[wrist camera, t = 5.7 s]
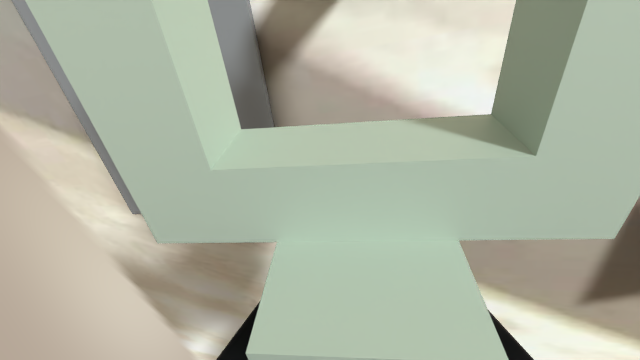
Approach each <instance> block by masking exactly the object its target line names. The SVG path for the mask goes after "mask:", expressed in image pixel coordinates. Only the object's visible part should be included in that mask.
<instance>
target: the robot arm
mask: <svg viewBox="0 0 640 360" xmlns="http://www.w3.org/2000/svg"><path fill="white" fill-rule="evenodd" d="M259 304H260V302H259V303H258V305H257V306H256V307H255V309H254V310H253V311H252V313H251V314H250V315H249V317H248V318H247V319H246V321H245V322H244V323H243V325H242V326H241V327H240V329H239V330H238V331H237V333H236V334H235V335H234V337H233V338H232V339H231V341H230V342H229V343H228V345H227V346H226V347H225V349H224V350H223V351H222V353H221V354H220V355H219V357H218V358H217V359H216V360H248V358H247V356H246V354H245V353H246V350H247V346H248V343H249V339H250V336H251V332H252V329H253V325H254V322H255V318H256V315H257V311H258V308H259ZM488 312H489V314H490V317H491V319H492V321H493V324H494V326H495V328H496V331H497V333H498V336H499V338H500V340H501V343H502V345H503V348H504V350H505V352H506V355H507V357H508V359H509V360H534V359H533V358H532V357H531V356H530V355H529V354H528V353H527V352H526V351H525V350H524V348H523V347H522V346H521V345H520V344H519V343H518V342H517V341H516V340H515V339H514V338H513V336H512V335H511V334H510V333H509V332H508V331H507V330H506V329H505V328H504V327H503V326H502V325H501V323H500V322H499V321H498V320H497V319H496V318H495V317H494V316H493V315H492V314H491V313H490V311H489V310H488Z"/></svg>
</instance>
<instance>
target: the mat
mask: <svg viewBox="0 0 640 360" xmlns="http://www.w3.org/2000/svg"><path fill="white" fill-rule="evenodd" d="M12 2H13V4H14V6H15V7H16V9H17V11H18V13H19V14H20V16H21V18H22V20H23V21H24V23H25V25H26V27H27V28H28V30H29V32H30V34H31V36H32V37H33V39H34V41H35V43H36V44H37V46H38V48H39V50H40V51H41V53H42V55H43V57H44V59H45V60H46V62H47V64H48V66H49V67H50V69H51V71H52V73H53V74H54V76H55V78H56V80H57V81H58V83H59V85H60V87H61V89H62V90H63V92H64V94H65V96H66V97H67V99H68V101H69V103H70V104H71V106H72V108H73V110H74V112H75V113H76V115H77V117H78V119H79V120H80V122H81V124H82V126H83V127H84V129H85V131H86V133H87V134H88V136H89V138H90V140H91V142H92V143H93V145H94V147H95V149H96V150H97V152H98V154H99V156H100V157H101V159H102V161H103V163H104V165H105V166H106V168H107V170H108V172H109V173H110V175H111V177H112V179H113V180H114V182H115V184H116V186H117V187H118V189H119V191H120V193H121V195H122V196H123V198H124V200H125V202H126V203H127V205H128V207H129V209H130V210H131V212H132V214H141V212H140V210H139V208H138V206H137V205H136V203H135V201H134V199H133V197H132V195H131V194H130V192H129V190H128V188H127V186H126V184H125V183H124V181H123V179H122V177H121V175H120V173H119V172H118V170H117V168H116V166H115V164H114V162H113V161H112V159H111V157H110V155H109V153H108V151H107V150H106V148H105V146H104V144H103V142H102V140H101V139H100V137H99V135H98V133H97V131H96V129H95V128H94V126H93V124H92V122H91V120H90V118H89V117H88V115H87V113H86V111H85V109H84V107H83V106H82V104H81V102H80V100H79V98H78V96H77V95H76V93H75V91H74V89H73V87H72V85H71V84H70V82H69V80H68V78H67V76H66V74H65V73H64V71H63V69H62V67H61V65H60V63H59V62H58V60H57V58H56V56H55V54H54V52H53V51H52V49H51V47H50V45H49V43H48V41H47V40H46V38H45V36H44V34H43V32H42V30H41V29H40V27H39V25H38V23H37V21H36V19H35V18H34V16H33V14H32V12H31V10H30V8H29V7H28V5H27V3H26V1H25V0H12ZM208 4H209V8H210V11H211V15H212V19H213V23H214V27H215V31H216V34H217V38H218V42H219V46H220V50H221V54H222V57H223V61H224V65H225V69H226V73H227V77H228V80H229V84H230V88H231V92H232V96H233V100H234V103H235V107H236V111H237V115H238V119H239V123H240V126H241V129H256V128H273V127H274V124H273V119H272V113H271V108H270V103H269V98H268V93H267V88H266V83H265V78H264V73H263V67H262V62H261V57H260V52H259V47H258V42H257V37H256V32H255V27H254V22H253V16H252V11H251V6H250V1H249V0H208Z"/></svg>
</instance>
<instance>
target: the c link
mask: <svg viewBox="0 0 640 360" xmlns="http://www.w3.org/2000/svg"><path fill="white" fill-rule="evenodd" d="M25 1H26V3H27V5H28V7H29V8H30V10H31V12H32V14H33V16H34V18H35V19H36V21H37V23H38V25H39V27H40V29H41V30H42V32H43V34H44V36H45V38H46V40H47V41H48V43H49V45H50V47H51V49H52V51H53V52H54V54H55V56H56V58H57V60H58V62H59V63H60V65H61V67H62V69H63V71H64V73H65V74H66V76H67V78H68V80H69V82H70V84H71V85H72V87H73V89H74V91H75V93H76V95H77V96H78V98H79V100H80V102H81V104H82V106H83V107H84V109H85V111H86V113H87V115H88V117H89V118H90V120H91V122H92V124H93V126H94V128H95V129H96V131H97V133H98V135H99V137H100V139H101V140H102V142H103V144H104V146H105V148H106V150H107V151H108V153H109V155H110V157H111V159H112V161H113V162H114V164H115V166H116V168H117V170H118V172H119V173H120V175H121V177H122V179H123V181H124V183H125V184H126V186H127V188H128V190H129V192H130V194H131V195H132V197H133V199H134V201H135V203H136V205H137V206H138V208H139V210H140V212H141V214H142V216H143V217H144V219H145V221H146V223H147V225H148V227H149V228H150V230H151V232H152V234H153V236H154V238H155V239H156V241H157V243H242V242H277V244H276V248H275V252H274V255H273V259H272V262H271V266H270V269H269V273H268V276H267V280H266V283H265V287H264V290H263V294H262V297H261V301H260V304H259V308H258V311H257V315H256V318H255V322H254V325H253V329H252V332H251V336H250V339H249V343H248V346H247V350H246V353H245V354H246V356H247V358H248V360H509V359H508V357H507V355H506V352H505V350H504V348H503V345H502V343H501V340H500V338H499V336H498V333H497V331H496V328H495V326H494V324H493V321H492V319H491V317H490V314H489V312H488V309H487V307H486V305H485V302H484V300H483V297H482V295H481V293H480V290H479V288H478V286H477V283H476V281H475V278H474V276H473V274H472V271H471V269H470V266H469V264H468V262H467V259H466V257H465V255H464V252H463V250H462V247H461V245H460V243H459V240H530V239H614V238H615V237H616V235H617V233H618V232H619V230H620V228H621V227H622V225H623V223H624V222H625V220H626V218H627V217H628V215H629V213H630V212H631V210H632V208H633V206H634V205H635V203H636V201H637V200H638V198H639V196H640V0H516V4H515V9H514V13H513V18H512V22H511V27H510V31H509V36H508V40H507V45H506V49H505V54H504V58H503V63H502V68H501V72H500V77H499V81H498V86H497V90H496V95H495V99H494V104H493V108H492V113H491V114H488V115H472V116H455V117H439V118H422V119H405V120H389V121H372V122H356V123H339V124H323V125H306V126H289V127H273V128H256V129H241V126H240V123H239V119H238V115H237V111H236V107H235V103H234V100H233V96H232V92H231V88H230V84H229V80H228V77H227V73H226V69H225V65H224V61H223V57H222V54H221V50H220V46H219V42H218V38H217V34H216V31H215V27H214V23H213V19H212V15H211V11H210V8H209V4H208V0H25Z"/></svg>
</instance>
